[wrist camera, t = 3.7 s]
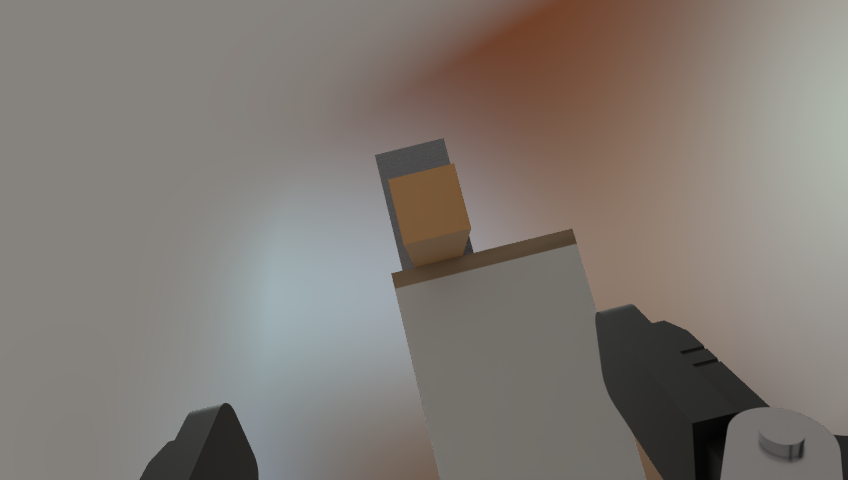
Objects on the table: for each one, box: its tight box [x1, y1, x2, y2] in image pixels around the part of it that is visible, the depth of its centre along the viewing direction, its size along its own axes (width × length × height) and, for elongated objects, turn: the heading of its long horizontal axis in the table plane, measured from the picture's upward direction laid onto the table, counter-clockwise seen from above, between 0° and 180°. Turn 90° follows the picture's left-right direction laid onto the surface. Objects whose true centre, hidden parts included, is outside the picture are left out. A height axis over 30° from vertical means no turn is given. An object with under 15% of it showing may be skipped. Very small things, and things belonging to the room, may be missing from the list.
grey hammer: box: [375, 139, 473, 271], centre depth 27 cm, size 15×4×7 cm, turn 178°
